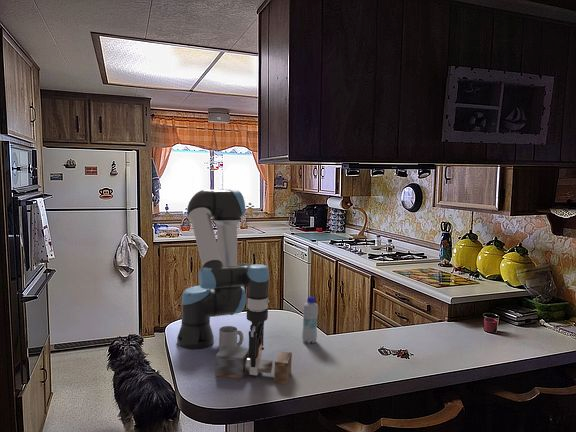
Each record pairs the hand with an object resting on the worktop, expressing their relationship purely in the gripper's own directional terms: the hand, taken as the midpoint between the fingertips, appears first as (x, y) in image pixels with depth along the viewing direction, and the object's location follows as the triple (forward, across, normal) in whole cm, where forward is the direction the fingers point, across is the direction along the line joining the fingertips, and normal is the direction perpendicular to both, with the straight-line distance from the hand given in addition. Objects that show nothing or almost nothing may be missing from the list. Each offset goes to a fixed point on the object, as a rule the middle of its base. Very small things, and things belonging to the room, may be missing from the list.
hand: (255, 370), depth 156 cm
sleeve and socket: (+1, 0, +1) cm, 1 cm away
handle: (0, 0, +3) cm, 3 cm away
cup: (+2, +18, +15) cm, 23 cm away
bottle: (+2, +35, -15) cm, 38 cm away
